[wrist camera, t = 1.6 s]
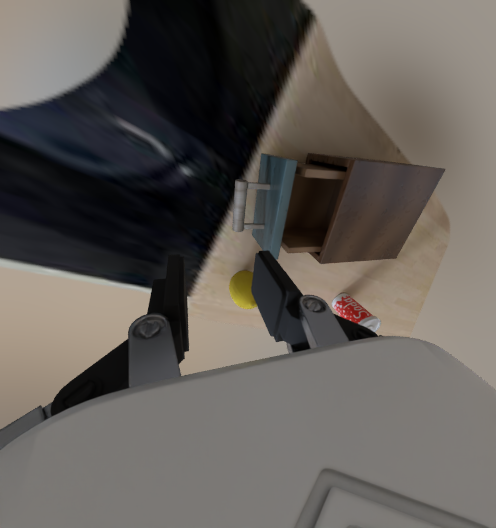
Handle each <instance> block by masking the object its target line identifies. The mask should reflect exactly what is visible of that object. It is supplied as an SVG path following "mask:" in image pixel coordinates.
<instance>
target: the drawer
mask: <svg viewBox="0 0 496 528" xmlns="http://www.w3.org/2000/svg"><path fill="white" fill-rule="evenodd" d="M346 172H347V168H344V167H338V166H326V165H315V164H304V163H297V160H294V159H289V158H284V157H280V156H275V155H271V154H261V162H260V170H259V179H258V183H251V182H248V181H246V180H240V179H238V180H235V196H234V213H233V231H236V232H242V231H243V229H253V231H252V236H253V237H254V238H255V240H256V241H257V243H258V244H259V245H260V247H261V248H262V250H263V251H266V250H269V251H270V253H271V254H272V255H273V256H274V258H275V259H278V256H279V251H280V246H282V248H283V249H284V250H285V251H286V252H287V253H303V252H321V249H322V246H323V243H324V240H325V237H326V234H327V230H328V227H329V224H330V221H331V218H332V215H333V212H334V209H335V206H336V203H337V199H338V196H339V193H340V190H341V187H342V184H343V181H344V178H345V175H346ZM247 188H248V189H257V197H256V205H255V214H254V223H244V218H245V206H246V195H247Z"/></svg>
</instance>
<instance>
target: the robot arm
mask: <svg viewBox="0 0 496 528" xmlns="http://www.w3.org/2000/svg"><path fill="white" fill-rule="evenodd" d="M251 292H252V295H253V297H254V300H255V302H256V304H257V306H258V309H259V311H260V313H261V316H262V318H263V320H264V322H265V325H266V327H267V329H268V331H269V334H270V335H271V336H274V338H275V340H276V342H279V341H285V342H287V349H288V352H289V354H284V355H280V356H275V357H270V358H265V359H260V360H255V361H250V362H245V363H241V364H236V365H231V366H226V367H222V368H218V369H213V370H208V371H203V372H198V373H194V374H189V375H184V376H181V373H180V368H179V363H180V362H181V361H182V360H183V359H185V358H184V352H186V351H189V339H188V308H187V290H186V278H185V265H184V257H180V255H169V257H168V266H167V276H166V279H158V280H154V282H153V286H152V292H151V297H150V302H149V307H148V312H147V314H146V315H143V316H141V317H140V318H138V319H136V320H135V321H134V322H133V323H132V324H131V326H130V327H129V331H128V339H127V340H126V341H124V342H123V343H122V344H120V345H119V346H118V347H116V348H115V349H114V350H112V351H111V352H110V353H108V354H107V355H105V356H104V357H103V358H101V359H100V360H99V361H98V362H96V363H95V364H93V365H92V366H91V367H89V368H88V369H87V370H85V371H84V372H83V373H81V374H80V375H78V376H77V377H76V378H74V379H73V380H72V381H70V382H69V383H68V384H67V385H66V386H64V387H63V388H62V389H61V390H60V391H59V393H58V394H57V395H56V397H55V398H54V401H53V402H52V403H50V404H48V405H47V406H45V407H44V408H43V407H42V406H39V407H37V408H35V409H34V410H32V411H30V412H29V413H27V414H25V415H24V416H22V417H21V418H19V419H17V420H16V421H14V422H12V423H11V424H9V425H7V426H6V427H4V428H3V429H1V430H0V528H496V390H495V389H494V388H493V387H491V386H490V385H489V384H488V383H487V382H486V381H484V380H483V379H482V378H481V377H479V376H478V375H477V374H476V373H474V372H473V371H472V370H471V369H469V368H468V367H467V366H465V365H464V364H463V363H461V362H460V361H459V360H458V359H456V358H455V357H453V356H452V355H451V354H449V353H448V352H446V351H445V350H443V349H442V348H440V347H439V346H437V345H435V344H432V343H430V342H427V341H423V340H420V339H415V338H409V337H400V336H382V335H379V336H378V335H377V334H376V333H375V332H373V331H372V330H370V329H369V328H367V327H365V326H362V325H360V324H357V323H355V322H352V321H350V320H347V319H345V318H343V317H340V316H338V315H335V314H333V313H332V311H331V309H330V308H329V306H328V304H327V303H326V302H325V301H324V300H323V299H321V298H319V297H317V296H314V295H304V296H303V294H302V293H301V292H300V290H299V289H298V288H297V286H296V285H295V284H294V283H293V281H292V280H291V279H290V277H289V276H288V275H287V273H286V272H285V271H284V270H283V268H282V267H281V266H280V264H279V263H278V262H277V260H276V259H275V258H274V256H273V255H272V254H271V253H270V251H269V250H266V251H259V253H256V256H255V264H254V271H253V279H252V286H251Z"/></svg>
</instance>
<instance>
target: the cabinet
mask: <svg viewBox="0 0 496 528" xmlns="http://www.w3.org/2000/svg"><path fill="white" fill-rule="evenodd" d="M306 164H315V165H326V166H338V167H344V168H347V172H346V175H345V178H344V181H343V184H342V187H341V190H340V193H339V196H338V199H337V203H336V206H335V209H334V212H333V215H332V218H331V221H330V224H329V227H328V230H327V234H326V237H325V240H324V243H323V246H322V249H321V252H308V253H310V254H311V255H312V256H313V257H314V258H315V259H316V260H317V261H318V262H319V263H320V264H326V263H340V262H354V261H368V260H382V259H395V258H397V256H398V254H399V252H400V250H401V249H402V247H403V245H404V243H405V241H406V240H407V238H408V236H409V234H410V233H411V231H412V229H413V227H414V225H415V224H416V222H417V220H418V218H419V216H420V215H421V213H422V211H423V209H424V207H425V206H426V204H427V202H428V200H429V198H430V197H431V195H432V193H433V191H434V189H435V188H436V186H437V184H438V182H439V180H440V179H441V177H442V175H443V173H444V171H445V169H442V168H435V167H427V166H419V165H412V164H404V163H396V162H388V161H380V160H371V159H361V158H352V157H343V156H333V155H324V154H314V153H308V155H307V159H306Z"/></svg>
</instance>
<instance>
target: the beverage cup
mask: <svg viewBox="0 0 496 528" xmlns="http://www.w3.org/2000/svg"><path fill="white" fill-rule="evenodd" d="M332 306H333V307H334V309H335V310H336V311H337V313H338V314H339V315H340V316H341V317H343V318H345V319H347V320H350V321H352V322H355V323H357V324H360V325H362V326H365V327H367V328H369V329H370V330H372V331H373V332H376V331H377V329H378V328H379V327H380V325H381V321H380V320H379V319H378V318H377V317H376V316H373V315H372V314H370V313H369V312H368V311H367V310H366V309H365V308H363V307H362V306H361V305H360V304H359V303H357V302H356V301H355V300H354V299H353V298H351V297H350V296H349V295H348V294H346V293H343V294H340V295H338V296H337V297H336V298H334V300H333V302H332Z"/></svg>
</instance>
